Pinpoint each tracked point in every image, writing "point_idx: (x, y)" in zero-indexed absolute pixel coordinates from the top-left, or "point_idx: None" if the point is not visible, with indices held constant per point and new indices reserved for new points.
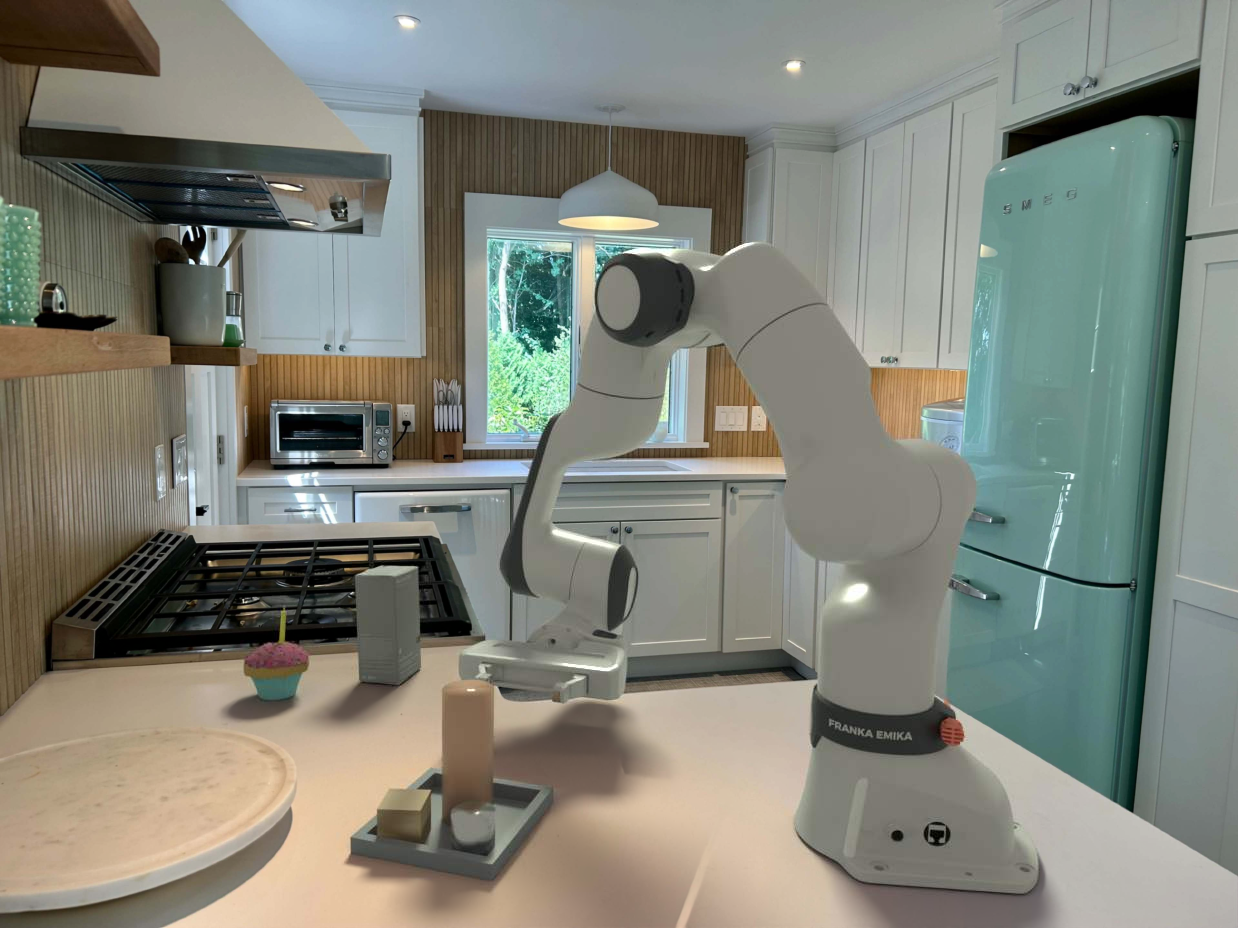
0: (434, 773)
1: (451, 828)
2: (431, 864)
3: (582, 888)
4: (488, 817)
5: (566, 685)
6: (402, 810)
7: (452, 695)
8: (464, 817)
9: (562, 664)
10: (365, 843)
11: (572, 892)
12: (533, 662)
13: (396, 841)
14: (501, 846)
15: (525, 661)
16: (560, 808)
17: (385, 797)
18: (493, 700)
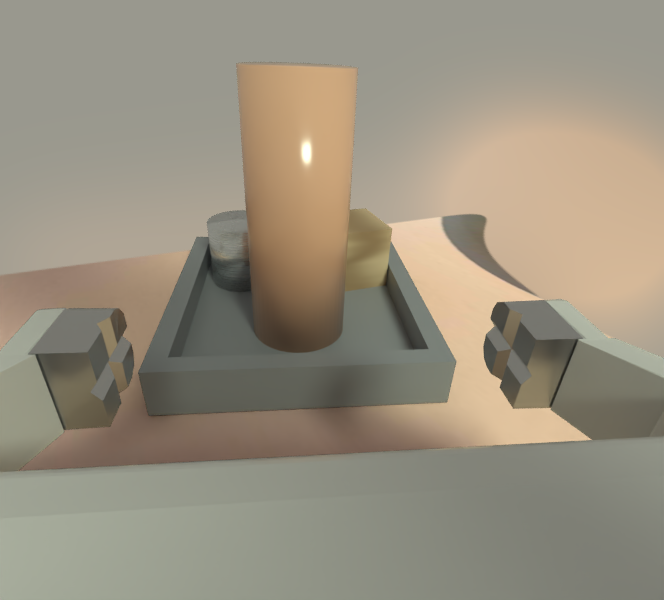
0: (428, 350)
1: None
2: None
3: (83, 289)
4: (212, 217)
5: (25, 330)
6: None
7: (308, 63)
8: (245, 214)
9: (3, 499)
10: None
11: (97, 283)
12: (366, 458)
13: None
14: (196, 253)
15: (457, 454)
16: (132, 428)
17: (377, 219)
18: (238, 94)
